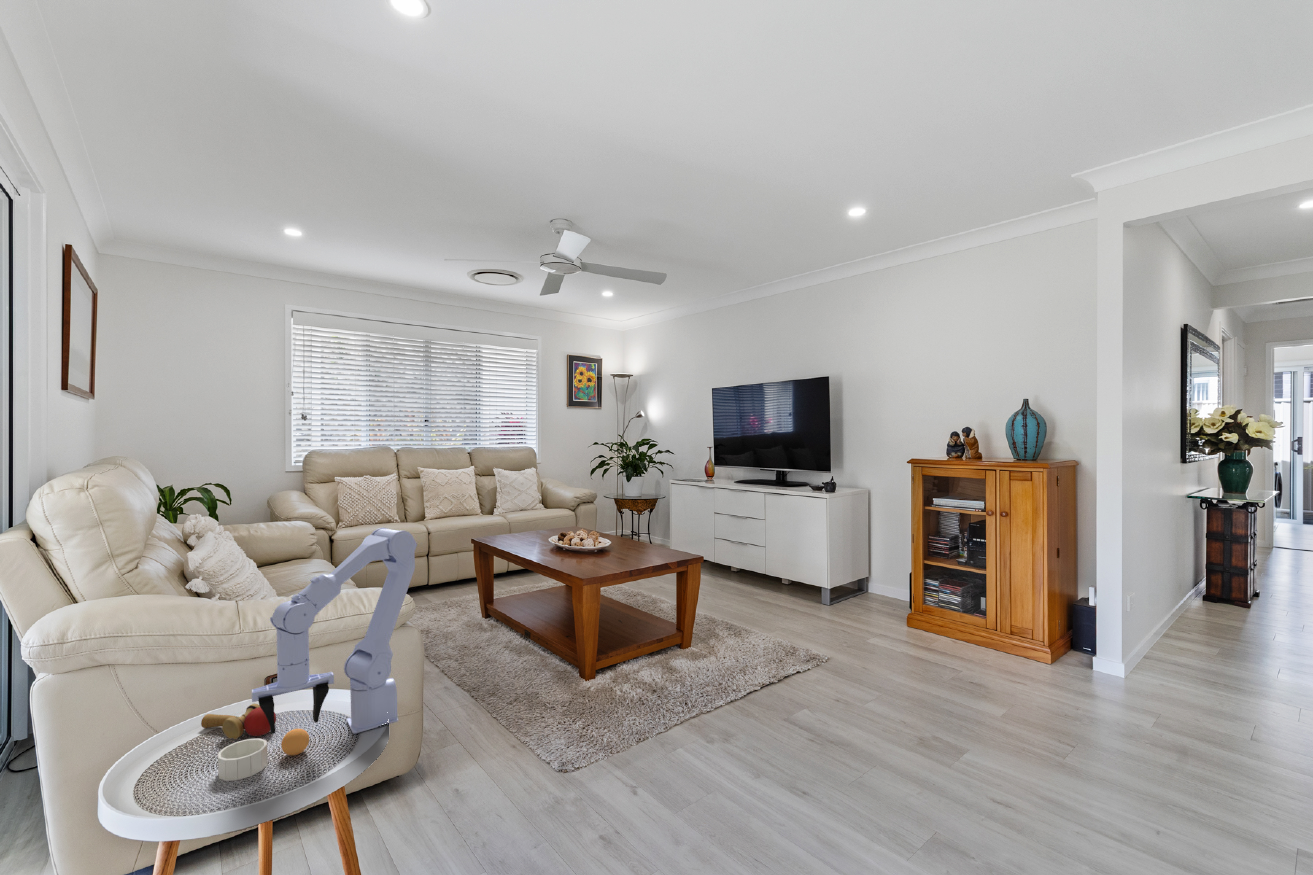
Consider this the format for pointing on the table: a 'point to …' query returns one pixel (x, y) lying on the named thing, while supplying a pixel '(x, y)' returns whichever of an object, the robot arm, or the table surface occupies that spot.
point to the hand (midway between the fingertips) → (294, 725)
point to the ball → (295, 742)
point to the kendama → (240, 722)
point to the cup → (242, 759)
